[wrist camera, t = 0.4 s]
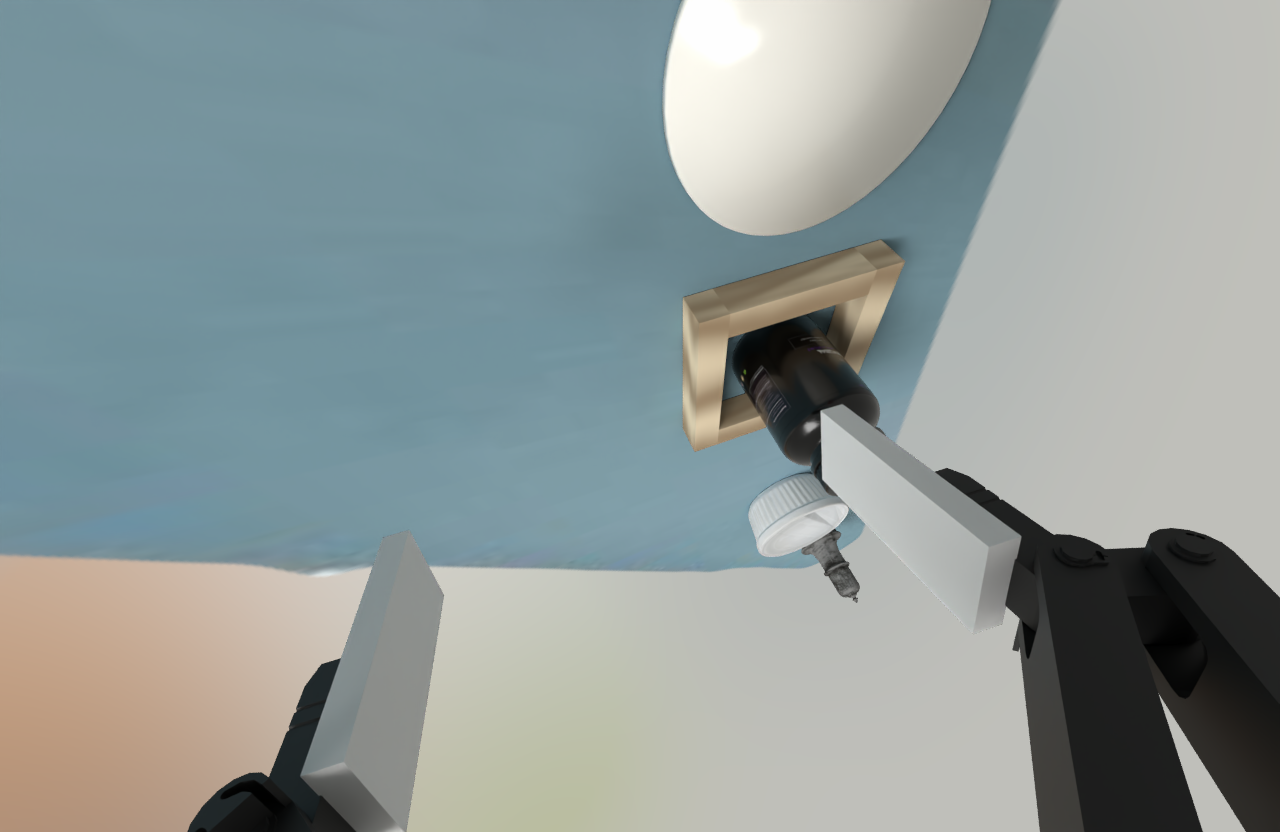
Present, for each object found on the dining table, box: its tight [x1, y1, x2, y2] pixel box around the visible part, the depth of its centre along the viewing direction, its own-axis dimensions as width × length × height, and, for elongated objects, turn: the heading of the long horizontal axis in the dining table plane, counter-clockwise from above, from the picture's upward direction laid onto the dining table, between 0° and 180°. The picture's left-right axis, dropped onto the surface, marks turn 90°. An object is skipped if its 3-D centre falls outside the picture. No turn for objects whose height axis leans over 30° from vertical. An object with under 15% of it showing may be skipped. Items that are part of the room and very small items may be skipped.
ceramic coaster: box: [662, 0, 991, 236], centre depth 23 cm, size 16×16×1 cm
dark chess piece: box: [802, 528, 860, 603], centre depth 68 cm, size 6×6×12 cm
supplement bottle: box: [732, 315, 886, 497], centre depth 35 cm, size 7×7×12 cm
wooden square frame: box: [683, 240, 905, 452], centre depth 37 cm, size 14×14×2 cm
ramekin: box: [748, 473, 849, 557], centre depth 60 cm, size 11×11×5 cm
